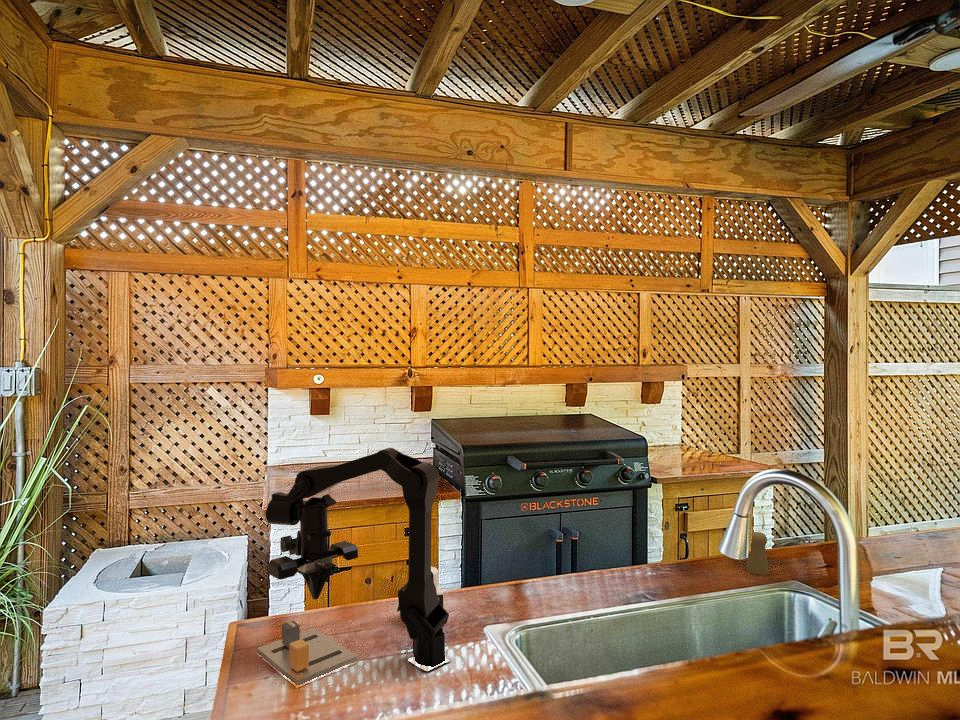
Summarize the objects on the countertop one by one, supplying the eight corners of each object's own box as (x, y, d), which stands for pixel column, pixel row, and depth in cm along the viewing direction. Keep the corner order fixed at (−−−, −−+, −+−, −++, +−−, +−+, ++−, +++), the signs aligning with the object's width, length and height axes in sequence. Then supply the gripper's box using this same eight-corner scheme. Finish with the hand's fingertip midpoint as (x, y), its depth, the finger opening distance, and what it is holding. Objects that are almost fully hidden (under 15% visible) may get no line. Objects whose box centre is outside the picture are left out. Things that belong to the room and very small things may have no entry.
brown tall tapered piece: (741, 569, 165) (740, 531, 166) (755, 566, 168) (755, 528, 168) (759, 576, 160) (758, 536, 160) (774, 572, 163) (773, 534, 163)
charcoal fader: (299, 644, 120) (299, 623, 121) (288, 648, 119) (288, 626, 119) (293, 639, 123) (293, 618, 123) (282, 643, 121) (281, 622, 121)
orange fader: (309, 666, 111) (308, 644, 111) (296, 671, 109) (296, 648, 109) (301, 661, 113) (301, 639, 113) (289, 666, 112) (289, 643, 112)
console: (357, 663, 116) (357, 655, 116) (297, 688, 107) (297, 680, 107) (314, 634, 129) (314, 627, 129) (257, 655, 120) (256, 647, 120)
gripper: (333, 512, 136) (334, 578, 136) (255, 528, 123) (257, 601, 123) (359, 520, 128) (360, 590, 128) (279, 538, 115) (280, 616, 115)
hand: (315, 598), depth 124 cm, fingers closed
